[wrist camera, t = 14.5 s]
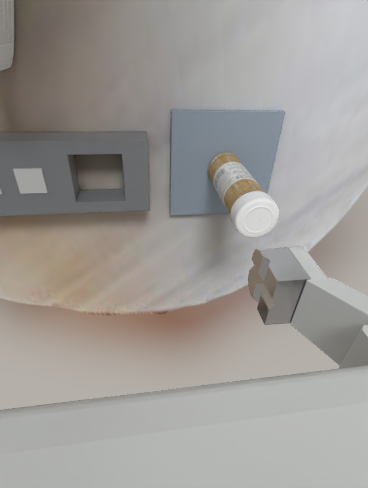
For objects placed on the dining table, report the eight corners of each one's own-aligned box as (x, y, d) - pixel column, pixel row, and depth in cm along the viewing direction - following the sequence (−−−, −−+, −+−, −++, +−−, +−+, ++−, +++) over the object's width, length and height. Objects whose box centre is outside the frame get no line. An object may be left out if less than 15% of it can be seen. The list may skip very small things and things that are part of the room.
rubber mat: (171, 109, 36) (171, 111, 36) (282, 110, 38) (285, 112, 38) (169, 212, 44) (170, 215, 44) (261, 209, 46) (263, 211, 46)
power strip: (-72, 132, 34) (-95, 144, 30) (146, 131, 37) (148, 142, 34) (-40, 204, 39) (-57, 221, 36) (148, 197, 42) (150, 213, 39)
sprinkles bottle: (224, 189, 43) (256, 246, 32) (199, 171, 40) (226, 226, 30) (247, 163, 41) (290, 214, 30) (222, 143, 39) (259, 190, 28)
